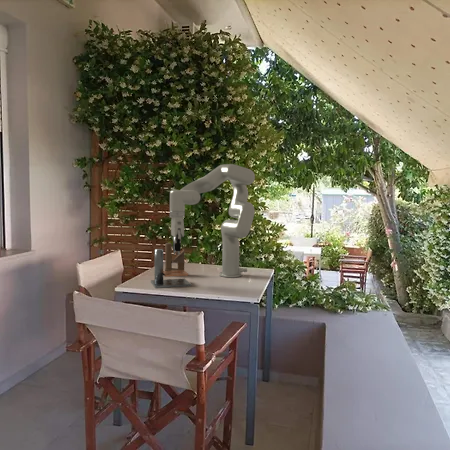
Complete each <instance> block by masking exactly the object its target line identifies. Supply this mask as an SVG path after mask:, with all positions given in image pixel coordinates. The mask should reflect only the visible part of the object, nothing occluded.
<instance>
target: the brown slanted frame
mask: <svg viewBox="0 0 450 450" xmlns="http://www.w3.org/2000/svg"><path fill="white" fill-rule="evenodd" d="M164 246H165V247H164V248H165V250H164V253H165V254H164V255H165V257H164V258H165V259H164V261H165V263H164V266H165V268H164V271H174V270H184V271H185V249H182V251H180V255H176V257H174V259H172V258H173V257H172V256H173V251H172V250H173V242H172V243H171V242H166V243H165V245H164ZM173 264H177V267H172V266H173Z"/></svg>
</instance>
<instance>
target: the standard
mask: <svg viewBox="0 0 450 450" xmlns="http://www.w3.org/2000/svg"><path fill="white" fill-rule="evenodd" d="M185 276H186V277H188V276H189V273H188V271H186V270H185V269H184V270H174V271H165V270H164V249H163V248H155V249H154V280H150V284H152V286H153V287H154V288H155V289H163V288H179V287H180V288H181V287H192V283H191V282H189V281H188V280H187V279H186V278H171V277H185ZM164 277H165V278H166V279H164ZM169 277H170V278H171V279H170V278H169ZM167 278H169V279H167Z"/></svg>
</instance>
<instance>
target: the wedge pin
mask: <svg viewBox="0 0 450 450" xmlns="http://www.w3.org/2000/svg"><path fill="white" fill-rule="evenodd" d="M176 237H178V236H176ZM174 243H175V237H174ZM180 253H181V251H174V250H173V256H174V255H175V256H178V255H180Z"/></svg>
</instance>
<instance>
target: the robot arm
mask: <svg viewBox="0 0 450 450" xmlns="http://www.w3.org/2000/svg"><path fill="white" fill-rule="evenodd" d="M255 179H256V176H255V172H254V171H253V170H251V169H249V168H247V167H244V166H240V165H237V164H235V163H234V164H233V163H229V164H228V163H226V164H223V163H222V164H220V165H218V166H217V167H215V168H214V169H212V170H211V171H209V173H207V174H206V175H204V176H203V177H200V178H198V179H196V180H194V181H192V182H189V183H188V184H186V185H184V186H183V187H182V188H181V189H180V190H179V189H172V190H170V192H169V218H171V221H170V222H171V223H170V225H171V226H170V235H171V236H172V250H173V252H174V251H180V252H182V251H181V250H182V238H184V237H185V225H184V224H185V222H184V221H185V220H184V218H185V214H186V213H185V212H186V211H185V210H186V209H185V207H186V206H185V205H192V206H194V205H197V204H198V203H199V202H200V201H201V194H203V193H209V192H211V191H213V190H215V189H216V188H217V187H219V186H220V185H221V184H222V183H224V182H225V181H229V182H230V184H231V186H232V189H233V193H232V197H231V200H230V204H229V208H228V215H229V216H230V217H231V218H234V219H227V220H224V221H223V222H222V223H221V226H220V232H221V240H222V249H221V250H222V252H221V253H222V254H221V255H222V258H221V259H222V261H221V262H222V263H221V265H222V266H221V267H222V268H221V269H222V271H221V272H219V276H220V277H222V278H239V277H240V278H241V277H242V275H243V274H242V273H247V272H248V269H247V268H242V267H240V241H239V239H244V238H247V236H248V235H249V234H250V230H251V229H252V228H251V227H252V224H253V220H254V217H255V213H256V211H255V207H254V204H252V203H251V202H248V197H249V191H248V188H247V186H249V185H252V184H253V183H254V181H255ZM236 219H237V220H236ZM176 236H178V237H176ZM174 237H175V243H174Z"/></svg>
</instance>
